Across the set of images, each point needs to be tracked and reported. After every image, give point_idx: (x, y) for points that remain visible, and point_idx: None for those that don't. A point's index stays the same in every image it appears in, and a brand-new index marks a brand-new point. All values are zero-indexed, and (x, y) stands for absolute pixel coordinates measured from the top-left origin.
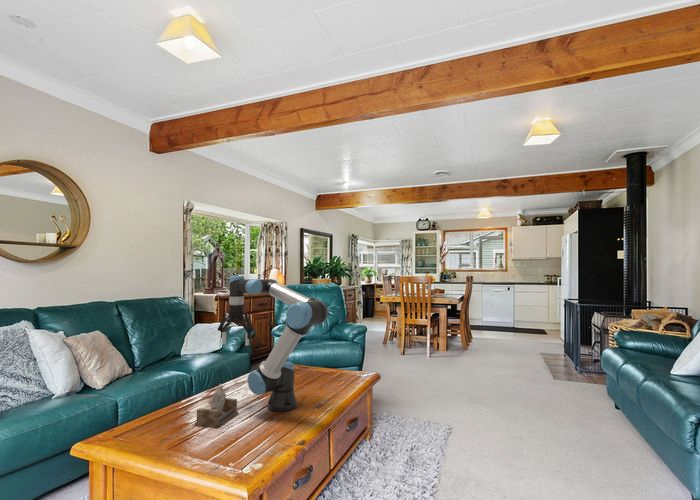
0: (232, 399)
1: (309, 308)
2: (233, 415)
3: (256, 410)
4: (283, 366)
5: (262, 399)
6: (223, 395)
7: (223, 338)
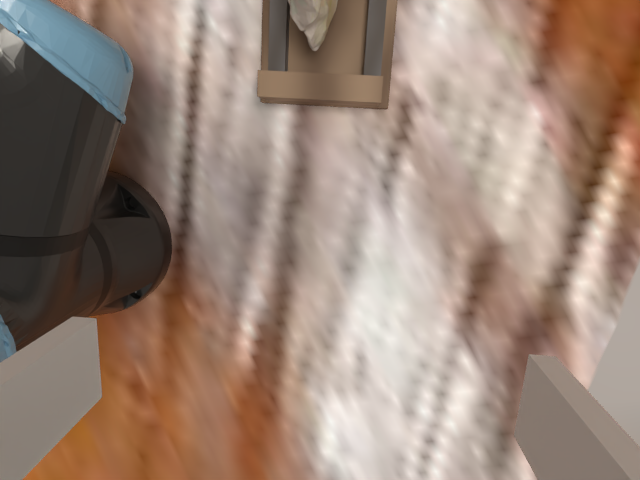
0: (279, 82)
1: None
2: (262, 48)
3: (200, 169)
4: None
5: (243, 324)
6: None
7: (588, 432)
